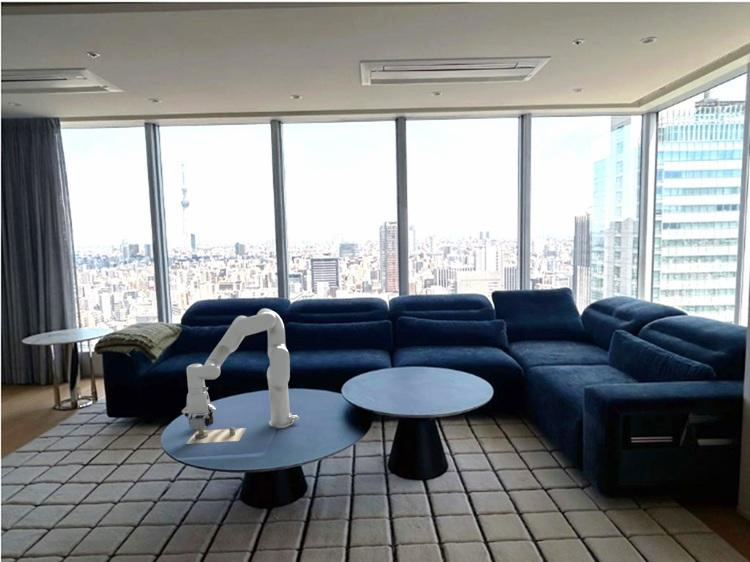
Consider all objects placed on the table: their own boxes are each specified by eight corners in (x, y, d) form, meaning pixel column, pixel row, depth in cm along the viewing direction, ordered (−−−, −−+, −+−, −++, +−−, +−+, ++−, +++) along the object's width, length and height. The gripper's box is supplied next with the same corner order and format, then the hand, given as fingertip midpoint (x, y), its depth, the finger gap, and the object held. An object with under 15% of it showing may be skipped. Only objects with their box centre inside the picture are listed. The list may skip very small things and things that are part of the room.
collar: (209, 422, 226) (209, 413, 226) (204, 428, 219) (203, 419, 219) (195, 422, 226) (194, 414, 226) (189, 429, 219) (189, 419, 219)
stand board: (247, 430, 231) (245, 417, 230) (238, 443, 217) (237, 429, 216) (197, 433, 231) (195, 420, 230) (185, 446, 217) (184, 432, 216)
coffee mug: (209, 429, 234) (207, 410, 233) (194, 428, 236) (192, 410, 235) (221, 420, 245) (219, 402, 244) (206, 419, 247) (205, 401, 246)
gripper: (217, 386, 225) (220, 421, 227) (182, 388, 225) (185, 423, 227) (212, 391, 217) (215, 428, 219) (175, 393, 217) (178, 429, 219)
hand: (200, 425), depth 223 cm, fingers closed on collar, 7 cm apart
